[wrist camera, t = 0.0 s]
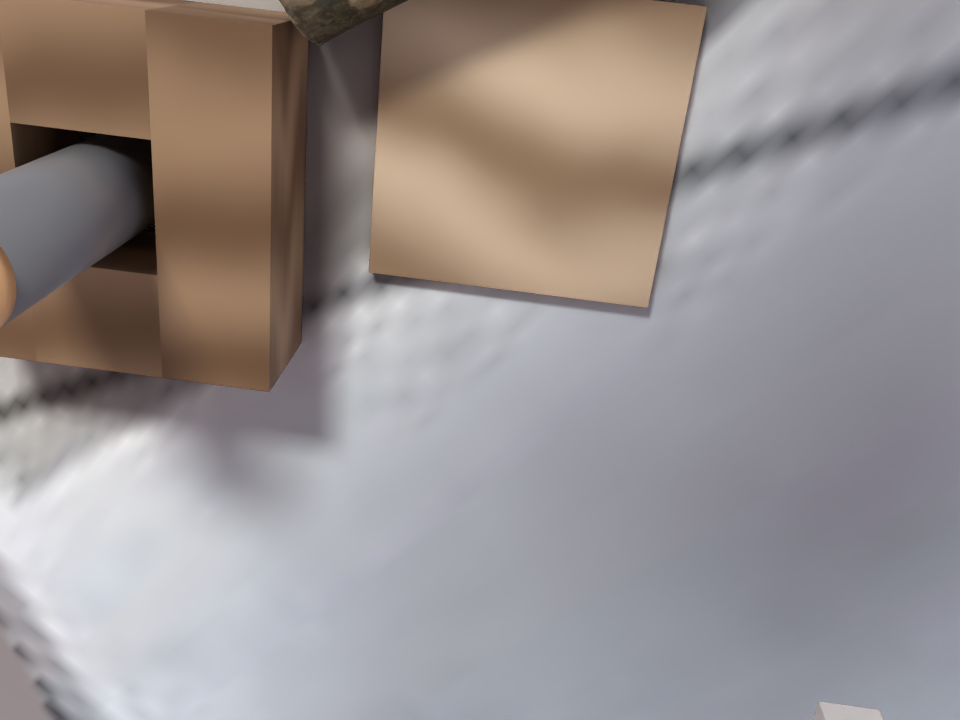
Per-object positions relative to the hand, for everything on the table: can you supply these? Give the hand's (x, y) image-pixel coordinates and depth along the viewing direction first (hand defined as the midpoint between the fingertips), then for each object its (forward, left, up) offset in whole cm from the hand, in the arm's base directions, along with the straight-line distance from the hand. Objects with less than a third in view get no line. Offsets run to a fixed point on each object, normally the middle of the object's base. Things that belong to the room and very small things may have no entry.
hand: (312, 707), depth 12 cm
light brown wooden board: (-2, +2, -28) cm, 28 cm away
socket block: (+1, -14, -28) cm, 31 cm away
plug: (+1, -14, -28) cm, 31 cm away
